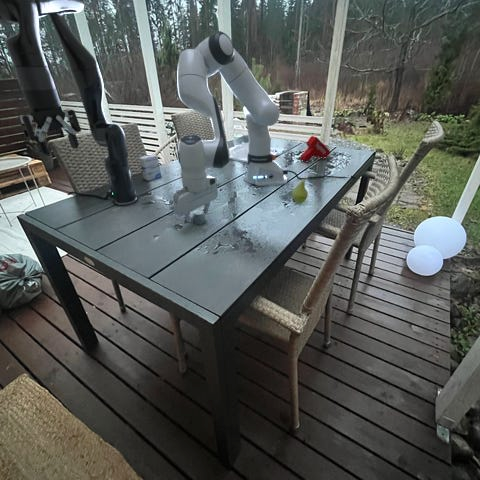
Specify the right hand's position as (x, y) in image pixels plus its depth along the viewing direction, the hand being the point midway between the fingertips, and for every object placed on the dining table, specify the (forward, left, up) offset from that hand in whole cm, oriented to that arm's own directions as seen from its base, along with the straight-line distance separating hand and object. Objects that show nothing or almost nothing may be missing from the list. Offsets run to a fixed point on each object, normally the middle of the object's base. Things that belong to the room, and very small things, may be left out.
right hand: (198, 217), depth 106 cm
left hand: (+35, +14, +29) cm, 48 cm away
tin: (-1, 0, -2) cm, 2 cm away
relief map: (-20, -94, -2) cm, 96 cm away
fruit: (-43, -18, -2) cm, 47 cm away
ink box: (+32, -50, -2) cm, 59 cm away
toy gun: (-64, -82, -2) cm, 104 cm away
